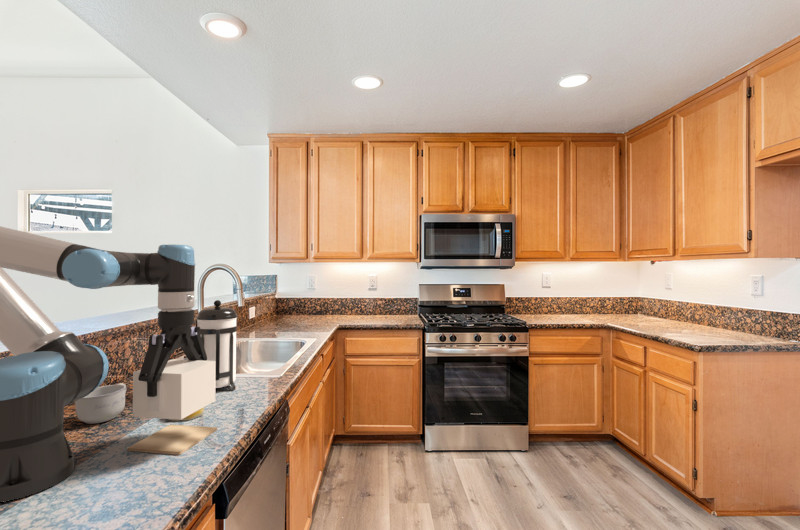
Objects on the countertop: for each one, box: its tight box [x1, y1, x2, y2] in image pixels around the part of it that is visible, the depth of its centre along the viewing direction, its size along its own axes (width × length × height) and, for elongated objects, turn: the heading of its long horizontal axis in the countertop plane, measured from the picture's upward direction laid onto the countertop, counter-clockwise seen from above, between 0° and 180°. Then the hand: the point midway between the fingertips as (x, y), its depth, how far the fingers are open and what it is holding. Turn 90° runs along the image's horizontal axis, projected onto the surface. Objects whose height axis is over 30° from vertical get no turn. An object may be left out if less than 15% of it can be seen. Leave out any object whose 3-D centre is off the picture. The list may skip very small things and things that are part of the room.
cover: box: [132, 359, 217, 421], centre depth 90 cm, size 12×12×10 cm
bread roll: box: [167, 407, 205, 422], centre depth 104 cm, size 8×9×4 cm
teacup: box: [74, 382, 127, 425], centre depth 103 cm, size 14×11×8 cm
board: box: [126, 423, 218, 456], centre depth 90 cm, size 13×13×1 cm
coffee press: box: [195, 299, 239, 391], centre depth 128 cm, size 17×16×30 cm
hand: (176, 400), depth 90 cm, fingers closed on cover, 12 cm apart
